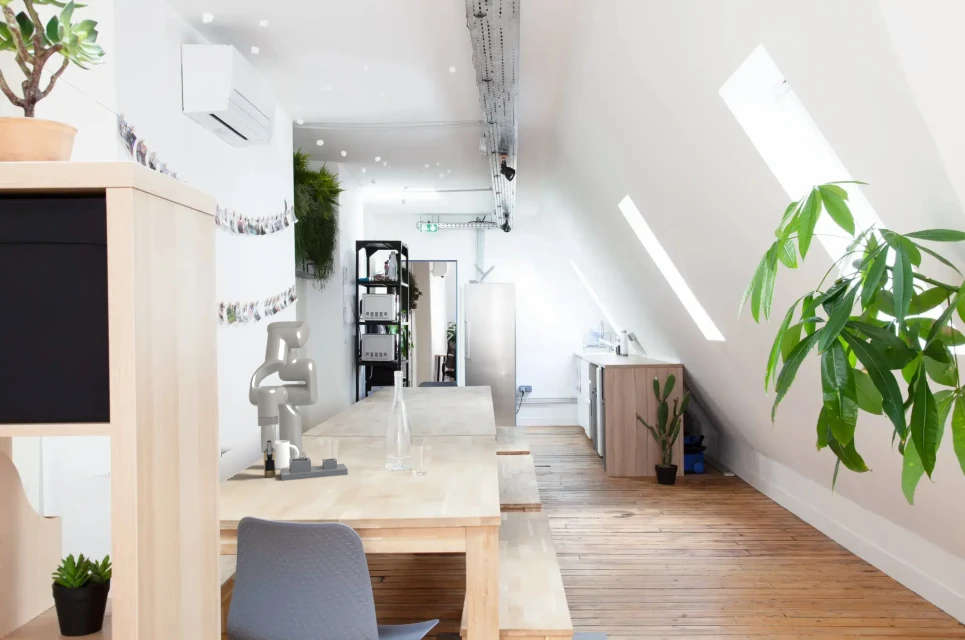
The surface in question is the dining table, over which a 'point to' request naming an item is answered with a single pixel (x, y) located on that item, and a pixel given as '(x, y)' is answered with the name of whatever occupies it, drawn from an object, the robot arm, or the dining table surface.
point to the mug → (283, 454)
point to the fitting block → (312, 469)
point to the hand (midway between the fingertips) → (269, 468)
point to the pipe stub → (266, 473)
